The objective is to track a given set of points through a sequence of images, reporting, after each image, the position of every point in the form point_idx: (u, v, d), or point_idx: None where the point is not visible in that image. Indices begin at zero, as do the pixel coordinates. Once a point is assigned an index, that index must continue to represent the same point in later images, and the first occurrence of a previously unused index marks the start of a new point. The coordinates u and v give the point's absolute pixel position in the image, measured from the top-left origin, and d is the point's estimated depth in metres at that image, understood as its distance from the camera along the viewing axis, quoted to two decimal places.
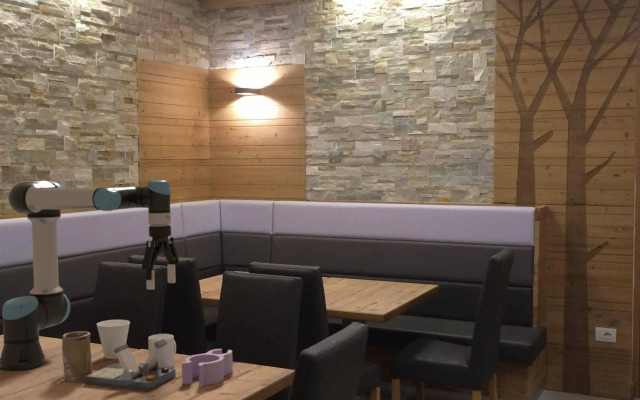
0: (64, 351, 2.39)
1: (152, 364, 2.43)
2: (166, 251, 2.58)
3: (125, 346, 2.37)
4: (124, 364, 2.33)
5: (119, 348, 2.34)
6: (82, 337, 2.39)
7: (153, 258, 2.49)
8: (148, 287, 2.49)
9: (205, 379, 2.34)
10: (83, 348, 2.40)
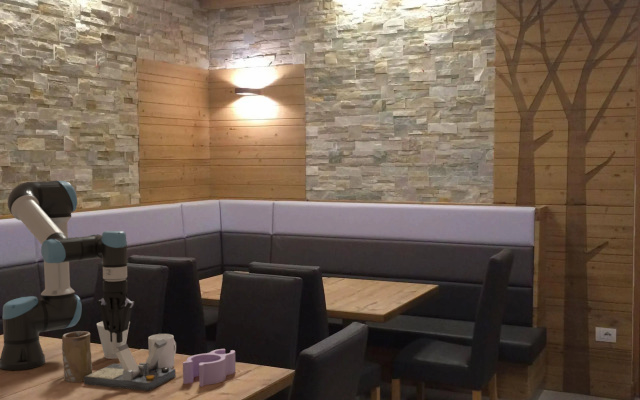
0: (64, 351, 2.39)
1: (152, 364, 2.43)
2: None
3: (125, 346, 2.37)
4: (124, 364, 2.33)
5: (120, 348, 2.34)
6: (82, 337, 2.39)
7: None
8: None
9: (205, 379, 2.34)
10: (83, 348, 2.40)
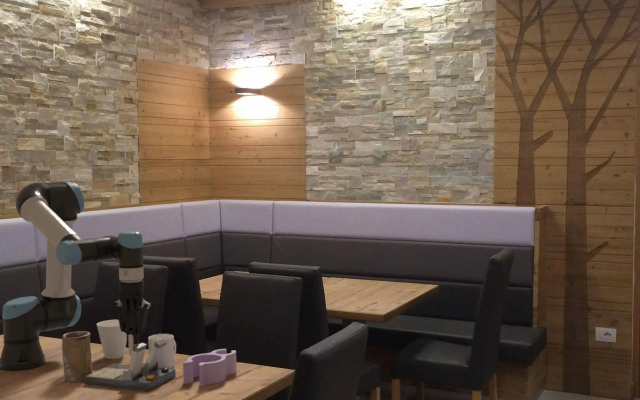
0: (64, 351, 2.39)
1: (152, 364, 2.43)
2: None
3: (144, 347, 2.35)
4: (132, 364, 2.32)
5: (138, 349, 2.32)
6: (82, 337, 2.39)
7: None
8: None
9: (205, 379, 2.34)
10: (83, 348, 2.40)
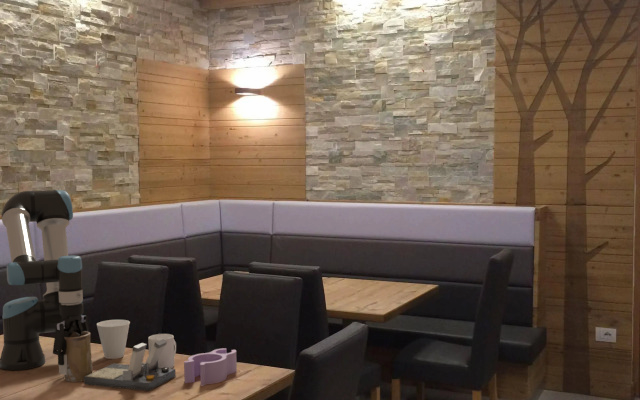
0: None
1: (152, 364, 2.43)
2: (77, 331, 2.45)
3: (144, 347, 2.35)
4: (132, 364, 2.32)
5: (138, 349, 2.32)
6: (82, 337, 2.39)
7: (64, 341, 2.38)
8: (61, 372, 2.39)
9: (207, 378, 2.35)
10: (84, 348, 2.40)
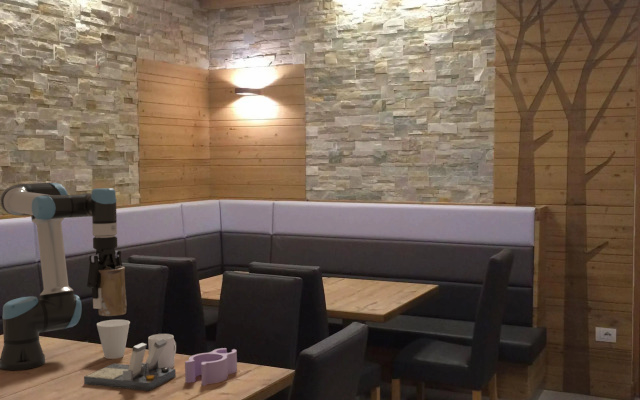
0: None
1: (152, 364, 2.43)
2: (111, 265, 2.39)
3: (144, 347, 2.35)
4: (132, 364, 2.32)
5: (138, 349, 2.32)
6: (117, 270, 2.33)
7: (99, 274, 2.33)
8: (95, 306, 2.33)
9: (208, 378, 2.35)
10: (118, 282, 2.34)
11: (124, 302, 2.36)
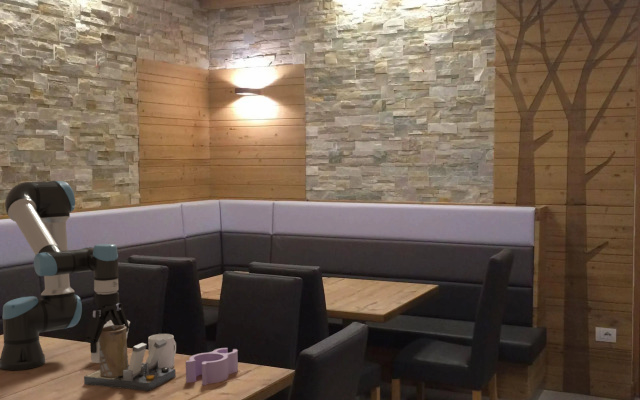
0: (100, 345, 2.35)
1: (152, 364, 2.43)
2: (114, 319, 2.41)
3: (144, 347, 2.35)
4: (132, 364, 2.32)
5: (138, 349, 2.32)
6: (119, 331, 2.34)
7: (98, 329, 2.33)
8: (93, 360, 2.32)
9: (208, 378, 2.36)
10: (120, 342, 2.35)
11: (126, 362, 2.38)
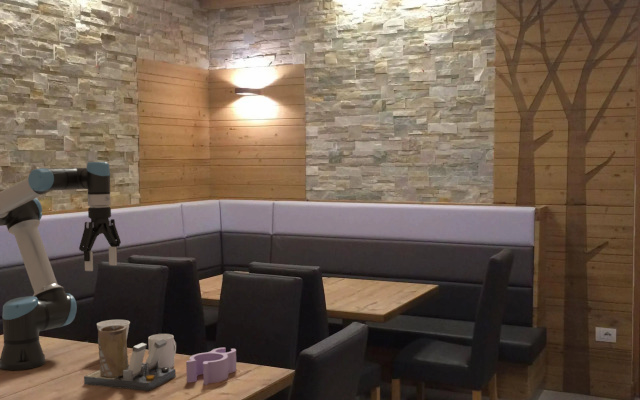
0: (100, 345, 2.35)
1: (152, 364, 2.43)
2: (106, 233, 2.57)
3: (144, 347, 2.35)
4: (132, 364, 2.32)
5: (138, 349, 2.32)
6: (119, 331, 2.35)
7: (91, 239, 2.48)
8: (86, 268, 2.48)
9: (209, 377, 2.36)
10: (120, 342, 2.35)
11: (126, 362, 2.38)
